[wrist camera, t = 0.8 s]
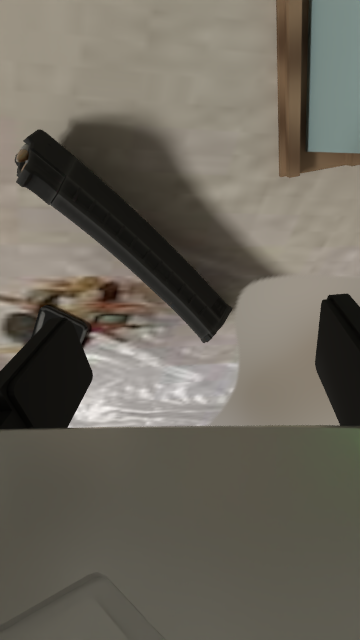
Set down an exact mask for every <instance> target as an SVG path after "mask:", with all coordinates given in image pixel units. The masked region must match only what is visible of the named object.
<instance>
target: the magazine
mask: <svg viewBox="0 0 360 640" xmlns="http://www.w3.org/2000/svg"><path fill="white" fill-rule="evenodd" d="M24 142H25V143H26V144H25V145H24V146H23V147H22V148H21V150H20V152H19V153H18V154H17V155H16V157H15V162H16V164H17V166H18V169H17V176H18V179H17V181H16V182H17V183H18V184H19V185H20V186H22V187H26V188H28V189H29V190H31V191H32V192H34V193H35V194H36V195H38V196H39V197H40V198H41V199H42V200H44V201H45V202H46V203H47V204H48V205H51V206H53V207H54V208H55V209H57V210H58V211H59V212H61V213H62V214H63V215H64V216H66V217H67V218H68V219H70V220H71V221H72V222H74V223H75V224H76V225H77V226H79V227H80V228H81V229H82V230H84V231H85V232H86V233H87V234H89V235H90V236H91V237H92V238H94V239H95V240H96V241H97V242H98V243H100V244H101V245H102V246H103V247H104V248H106V249H107V250H108V251H109V252H110V253H112V254H113V255H114V256H115V257H116V258H117V259H119V260H120V261H121V262H122V263H123V264H124V265H126V266H127V267H128V268H129V269H130V270H131V271H132V272H133V273H134V274H136V275H137V276H138V277H139V278H140V279H141V280H142V281H143V282H144V283H145V284H146V285H147V286H148V287H150V288H151V289H152V290H153V291H154V292H155V293H156V294H157V295H158V296H159V297H160V298H161V299H163V300H164V301H165V302H166V303H167V304H168V305H169V306H170V307H171V308H172V309H173V310H174V311H175V312H176V313H177V314H178V315H179V316H180V317H181V318H182V319H183V320H184V321H185V322H186V323H187V324H188V325H189V326H190V327H191V329H192V330H193V331H194V332H195V333H196V334H197V335H198V336H199V337H200V339H201V341H202V342H203V343H205V342H208V341H209V340H211V339H212V337H213V336H214V335H215V334H216V332H217V331H218V330H219V329H220V328H221V327H222V326H223V324H224V323H225V321H226V319H227V317H228V315H229V314H230V312H231V310H232V308H231V307H230V306H228V305H227V304H226V303H225V302H224V301H223V300H222V299H221V297H220V296H219V295H218V294H217V293H216V292H215V291H214V290H213V289H212V288H211V287H210V286H209V285H208V284H207V283H206V282H205V281H204V279H203V278H202V277H201V276H200V275H199V274H198V273H197V272H196V271H195V270H194V269H193V268H192V267H191V266H190V265H189V264H188V263H187V262H186V261H185V260H184V259H183V257H182V256H181V255H180V254H179V253H178V252H177V251H176V250H175V249H174V248H173V247H172V246H171V245H170V244H169V243H168V242H167V241H166V240H165V239H164V238H163V237H162V236H161V235H160V234H159V233H157V232H156V231H155V230H154V229H153V228H152V227H151V226H150V225H149V224H148V223H147V222H146V221H145V220H144V219H143V218H142V217H141V216H140V215H139V214H138V213H137V212H136V211H134V210H133V209H132V208H131V207H130V206H129V205H128V204H127V203H126V202H125V201H124V200H123V199H121V198H120V197H119V196H118V195H117V194H116V193H115V192H114V191H112V190H111V189H110V188H109V187H108V186H107V185H106V184H105V183H103V182H102V181H101V180H100V179H99V178H98V177H97V176H96V175H94V174H93V173H92V172H91V171H90V170H89V169H88V168H87V167H85V166H84V165H83V164H82V163H81V162H80V161H78V160H77V159H76V158H75V157H74V156H73V155H72V154H71V153H70V152H68V151H67V150H66V149H65V148H64V147H63V146H61V145H60V144H59V143H58V142H57V141H55V140H54V139H53V138H52V137H51V136H49V135H48V134H47V133H46V132H44V131H43V130H37V131H35V132H34V133H33V134H31V135H30V136H28V137H27V138H26V139H25V140H24Z"/></svg>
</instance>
